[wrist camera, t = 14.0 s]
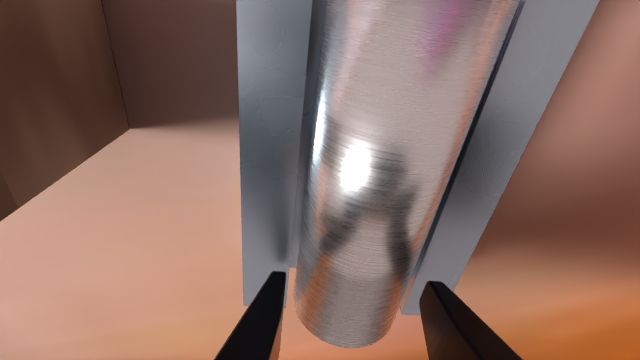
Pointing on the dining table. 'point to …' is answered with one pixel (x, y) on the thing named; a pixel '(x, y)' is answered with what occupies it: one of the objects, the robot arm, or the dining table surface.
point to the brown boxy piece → (53, 93)
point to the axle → (385, 150)
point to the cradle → (298, 115)
